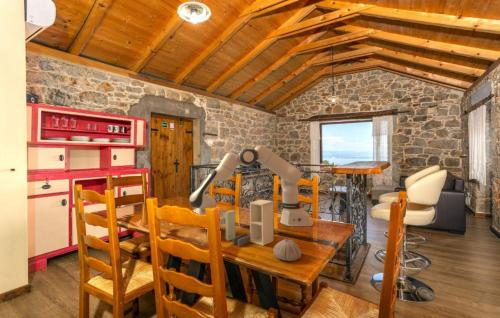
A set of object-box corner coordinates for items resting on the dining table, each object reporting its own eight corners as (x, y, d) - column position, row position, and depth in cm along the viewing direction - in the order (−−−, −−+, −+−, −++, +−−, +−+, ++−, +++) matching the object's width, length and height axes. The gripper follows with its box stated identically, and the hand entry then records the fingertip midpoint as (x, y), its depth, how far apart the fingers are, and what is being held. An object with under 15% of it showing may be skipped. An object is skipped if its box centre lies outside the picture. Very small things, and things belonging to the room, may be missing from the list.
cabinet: (232, 244, 136) (232, 203, 135) (255, 235, 150) (254, 198, 149) (252, 250, 127) (251, 207, 126) (274, 240, 141) (273, 201, 141)
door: (224, 239, 143) (224, 211, 143) (232, 236, 148) (232, 209, 148) (228, 240, 141) (227, 212, 141) (236, 237, 146) (235, 210, 146)
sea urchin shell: (284, 249, 129) (284, 233, 129) (307, 256, 120) (307, 240, 119) (267, 257, 119) (267, 240, 119) (291, 266, 110) (291, 248, 110)
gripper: (197, 217, 147) (212, 221, 138) (222, 210, 163) (238, 214, 154) (197, 228, 147) (213, 233, 138) (222, 220, 163) (238, 224, 154)
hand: (226, 223), depth 146 cm, fingers open, 8 cm apart
